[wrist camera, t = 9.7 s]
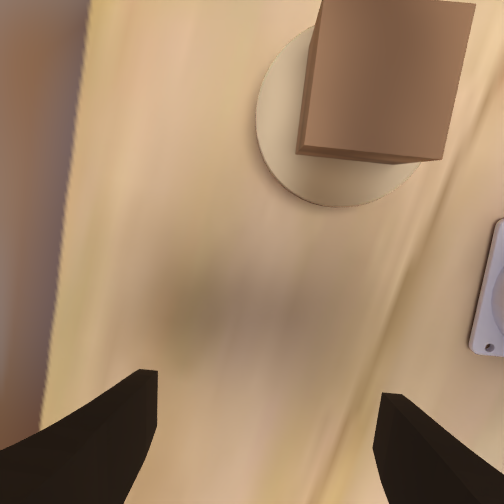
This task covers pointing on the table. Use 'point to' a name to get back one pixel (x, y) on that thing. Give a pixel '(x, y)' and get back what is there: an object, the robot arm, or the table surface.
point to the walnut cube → (382, 79)
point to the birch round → (309, 167)
